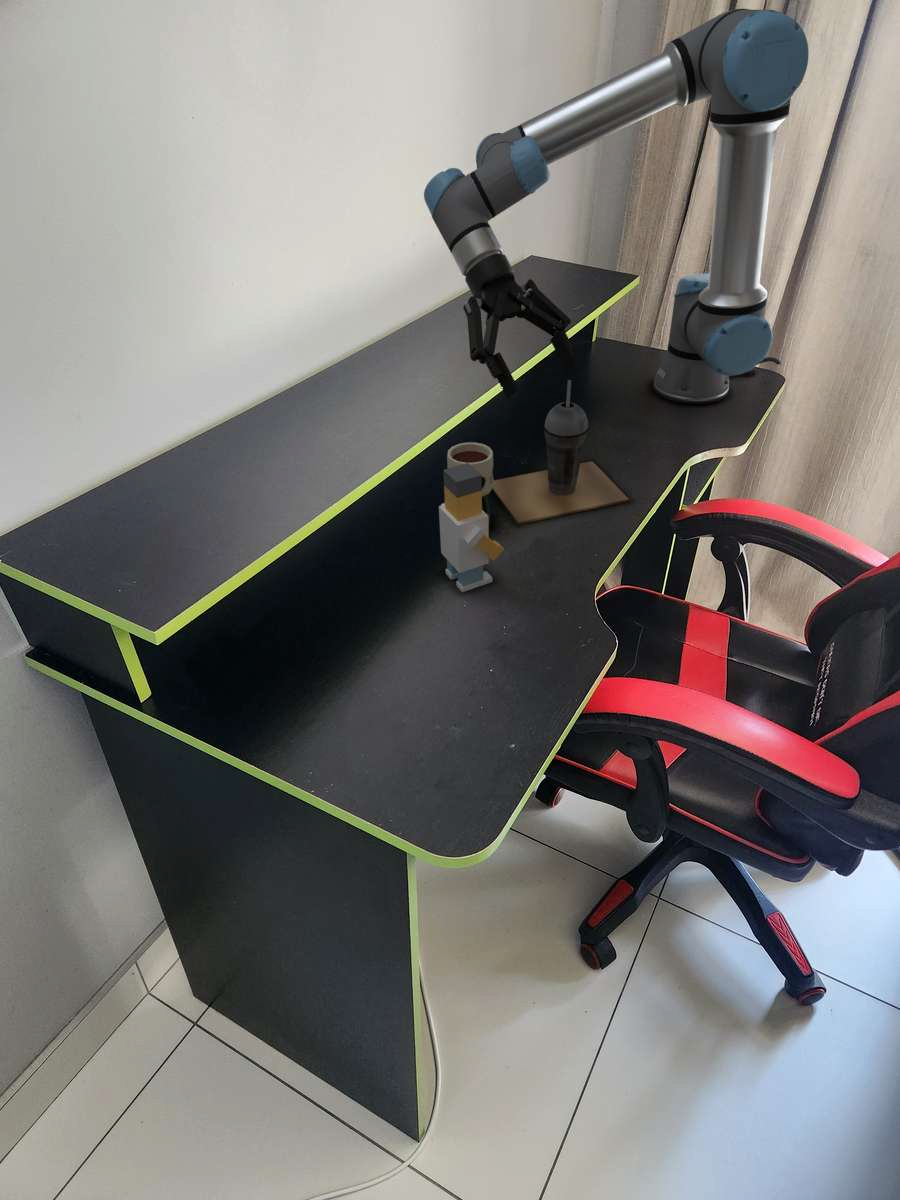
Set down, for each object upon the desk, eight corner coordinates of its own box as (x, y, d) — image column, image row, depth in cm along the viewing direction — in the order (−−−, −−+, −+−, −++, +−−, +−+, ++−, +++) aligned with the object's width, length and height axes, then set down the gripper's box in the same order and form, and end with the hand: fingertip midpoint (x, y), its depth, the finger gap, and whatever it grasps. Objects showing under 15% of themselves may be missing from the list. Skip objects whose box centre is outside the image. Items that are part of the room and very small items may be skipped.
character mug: (468, 546, 122) (466, 474, 114) (433, 531, 126) (429, 460, 118) (508, 516, 129) (509, 445, 121) (474, 502, 133) (473, 433, 124)
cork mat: (591, 463, 142) (592, 460, 141) (628, 501, 131) (628, 498, 131) (488, 483, 137) (488, 481, 137) (518, 524, 127) (518, 522, 126)
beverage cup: (582, 478, 137) (591, 368, 124) (584, 500, 131) (594, 387, 118) (540, 477, 137) (545, 368, 125) (540, 499, 132) (545, 387, 119)
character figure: (451, 556, 121) (446, 452, 109) (512, 573, 117) (514, 467, 105) (426, 584, 115) (419, 478, 104) (490, 603, 111) (490, 494, 100)
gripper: (529, 263, 136) (585, 371, 136) (413, 296, 124) (475, 414, 124) (551, 236, 129) (610, 349, 129) (431, 268, 118) (496, 392, 118)
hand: (544, 381), depth 127 cm, fingers open, 13 cm apart
